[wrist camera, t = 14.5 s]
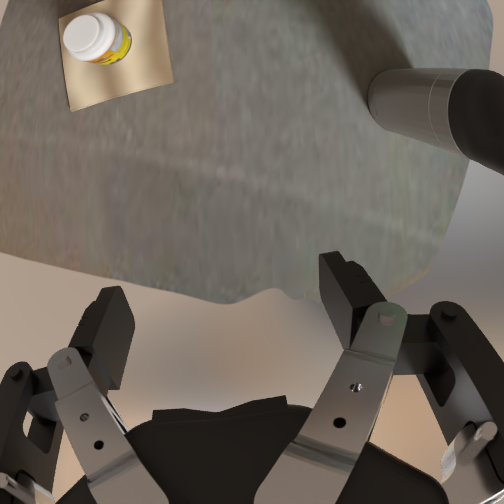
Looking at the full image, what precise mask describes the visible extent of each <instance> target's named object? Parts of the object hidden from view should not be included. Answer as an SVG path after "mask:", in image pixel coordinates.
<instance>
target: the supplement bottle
mask: <svg viewBox="0 0 504 504" xmlns="http://www.w3.org/2000/svg"><path fill="white" fill-rule="evenodd" d="M63 42H64V45H65V46H66V48H67V50H68V52H69V54H70V55H71V56H72V57H73V58H75V59H77V60H80V61H85V62H90V63H96V64H101V65H112V64H115V63H117V62H119V61H121V60H122V59H123V58H124V57H125V56H126V55H127V54H128V52H129V51H130V49H131V45H132V36H131V33H130V31H129V30H128V29H127V28H126V27H125V26H123V25H122V24H120V23H119V22H117V21H116V20H114V19H113V18H111V17H109V16H108V15H106V14H104V13H100V12H93V13H89V14H86V15H81V16H78V17H76V18H75V19H73V20H72V21H71V22H70V23H69V24H68V25H67V27H66V29H65V31H64V35H63Z"/></svg>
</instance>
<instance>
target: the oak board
mask: <svg viewBox="0 0 504 504" xmlns="http://www.w3.org/2000/svg"><path fill="white" fill-rule="evenodd" d="M93 12H100V13H104V14H106V15H108V16H109V17H111V18H113V19H114V20H116V21H117V22H119V23H120V24H122V25H123V26H125V27H126V28H127V29H128V30H129V31H130V33H131V36H132V45H131V49H130V51H129V52H128V54H127V55H126V56H125V57H124V58H123V59H122V60H121V61H119V62H117V63H115V64H112V65H101V64H96V63H90V62H85V61H80V60H77V59H75V58H73V57H72V56H71V55H70V54H69V52H68V50H67V48H66V46H65V45H64V42H63V35H64V31H65V29H66V27H67V25H68V24H69V23H70V22H71V21H72V20H73V19H75V18H76V17H78V16H81V15H86V14H89V13H93ZM59 31H60V42H61V51H62V59H63V67H64V74H65V81H66V87H67V93H68V99H69V105H70V110H71V112H73V111H76V110H79V109H82V108H85V107H88V106H91V105H94V104H97V103H100V102H103V101H106V100H110V99H113V98H116V97H120V96H123V95H127V94H130V93H134V92H138V91H142V90H146V89H150V88H154V87H158V86H162V85H166V84H171V83H175V82H174V75H173V69H172V63H171V56H170V49H169V43H168V36H167V29H166V21H165V14H164V6H163V0H104V1H102V2H99V3H96V4H93V5H91V6H88V7H85V8H83V9H80V10H78V11H75V12H73V13H71V14H68V15H66V16H64V17H62V18H59Z"/></svg>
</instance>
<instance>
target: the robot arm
mask: <svg viewBox="0 0 504 504" xmlns="http://www.w3.org/2000/svg"><path fill="white" fill-rule="evenodd" d="M368 105H369V109H370V112H371V114H372V116H373V118H374V119H375V121H376V122H377V123H378V124H379V125H380V126H382V127H383V128H384V129H386V130H389V131H391V132H395V133H398V134H401V135H404V136H407V137H410V138H413V139H416V140H419V141H422V142H425V143H428V144H431V145H434V146H437V147H440V148H442V149H445V150H448V151H450V152H453V153H456V154H459V155H461V156H464V157H466V158H469V159H471V160H474V161H476V162H479V163H480V164H482V165H484V166H486V167H488V168H490V169H492V170H494V171H496V172H499V173H500V174H502V175H504V76H502V75H501V74H499V73H496V72H494V71H490V70H482V69H456V68H453V69H451V68H413V69H390V70H385V71H383V72H381V73H379V74H378V75H377V76H376V77H375V78H374V79H373V81H372V82H371V84H370V87H369V91H368ZM319 289H320V295H321V299H322V302H323V304H324V306H325V309H326V311H327V313H328V315H329V318H330V320H331V322H332V324H333V326H334V329H335V331H336V333H337V335H338V338H339V340H340V342H341V344H342V347H343V349H344V351H343V353H342V355H341V357H340V359H339V361H338V363H337V365H336V367H335V369H334V371H333V373H332V375H331V377H330V378H329V380H328V382H327V384H326V386H325V388H324V390H323V392H322V393H321V395H320V397H319V399H318V401H317V403H316V404H315V406H314V408H313V409H312V408H309V407H305V406H300V405H289V404H287V400H286V396H285V395H284V396H278V397H273V398H266V399H260V400H253V401H250V402H247V403H244V404H241V405H239V406H236V407H233V408H230V409H227V410H224V411H221V412H208V411H200V410H191V409H185V408H182V409H166V410H153V415H152V420H149V421H147V422H144V423H142V424H140V425H138V426H136V427H134V428H133V429H131V430H129V428H128V427H127V426H126V424H125V423H124V421H123V419H122V418H121V416H120V415H119V413H118V412H117V410H116V409H115V407H114V405H113V404H112V402H111V401H110V399H109V398H108V396H107V393H108V390H119V389H120V385H121V380H122V377H123V373H124V368H125V364H126V361H127V356H128V353H129V349H130V345H131V341H132V337H133V334H134V330H135V321H134V316H133V314H132V311H131V309H130V307H129V304H128V302H127V299H126V297H125V294H124V292H123V290H122V288H121V287H120V286H112V287H106V288H102V289H101V291H100V293H99V295H98V297H97V299H96V301H93V302H92V303H91V304H90V305H89V306H88V307H87V308H86V310H85V311H84V314H83V316H82V319H81V320H80V322H79V324H78V325H79V326H77V328H76V330H75V332H74V335H73V337H72V339H71V341H70V344H69V346H68V348H63V349H61V350H59V351H57V352H56V353H55V354H53V355H52V357H51V358H50V359H49V361H48V364H47V367H44V368H41V369H38V370H34V371H33V369H32V368H31V366H30V365H29V364H28V363H27V362H18V363H15V364H14V365H12V366H11V367H10V368H9V369H8V370H7V371H6V373H5V375H4V377H3V379H2V382H1V384H0V504H494V503H496V502H497V501H499V500H500V499H502V498H503V497H504V362H503V361H502V359H501V358H500V356H499V355H498V354H497V352H496V351H495V349H494V348H493V346H492V345H491V344H490V342H489V341H488V340H487V338H486V337H485V335H484V334H483V333H482V331H481V330H480V329H479V327H478V326H477V325H476V323H475V322H474V321H473V320H472V318H471V317H470V316H469V314H468V313H467V312H466V311H465V309H464V308H462V307H461V306H460V305H458V304H456V303H453V302H449V301H442V302H438V303H436V304H434V305H433V306H432V307H431V310H430V314H423V315H411V314H407V312H406V311H405V309H404V308H403V307H401V306H400V305H398V304H395V303H392V302H387V300H386V299H385V297H384V296H383V294H382V293H381V292H380V290H379V289H378V287H377V286H376V285H375V283H374V282H372V279H371V278H370V276H368V274H367V272H366V271H365V270H364V268H363V267H362V266H361V265H359V264H357V263H356V262H354V261H348V262H346V261H345V260H344V258H343V257H342V255H341V254H340V252H339V251H333V252H328V253H322V254H319ZM414 374H416V376H417V378H418V380H419V382H420V384H421V387H422V388H423V391H424V393H425V395H426V397H427V399H428V401H429V404H430V406H431V408H432V410H433V412H434V415H435V417H436V419H437V421H438V424H439V426H440V428H441V430H442V433H443V435H444V437H445V440H446V442H447V445H448V448H447V449H446V451H445V452H444V453H443V455H442V459H441V468H442V480H441V483H439V482H438V481H437V480H436V479H434V478H433V477H432V476H430V475H428V474H426V473H425V472H423V471H421V470H419V469H417V468H415V467H413V466H412V465H410V464H408V463H406V462H404V461H402V460H401V459H398V458H397V457H395V456H393V455H392V454H390V453H388V452H386V451H385V450H383V449H381V448H380V447H378V446H376V445H374V444H373V443H371V442H369V441H370V439H371V436H372V434H373V431H374V428H375V426H376V423H377V420H378V417H379V415H380V412H381V410H382V407H383V404H384V401H385V398H386V395H387V393H388V390H389V387H390V384H391V381H392V377H393V375H414ZM27 411H28V412H29V413H30V414H31V415H32V416H33V419H32V422H31V426H30V429H29V433H28V436H27V437H26V436H25V434H24V432H23V422H24V419H25V415H26V412H27ZM64 429H65V431H66V434H67V436H68V439H69V441H70V443H71V445H72V448H73V450H74V452H75V454H76V456H77V458H78V460H79V462H80V465H81V467H82V469H83V470H84V472H85V475H84V476H83V477H82V478H81V479H80V480H79V481H78V482H77V483H76V484H75V485H74V486H73V487H72V488H71V489H70V490H69V491H68V492H67V493H66V494H64V495H63V497H61V498H60V499H59V500H58V501H57V502H56V503H55V501H54V498H53V496H52V488H53V482H54V475H55V469H56V464H57V459H58V453H59V449H60V444H61V439H62V435H63V430H64Z"/></svg>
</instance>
